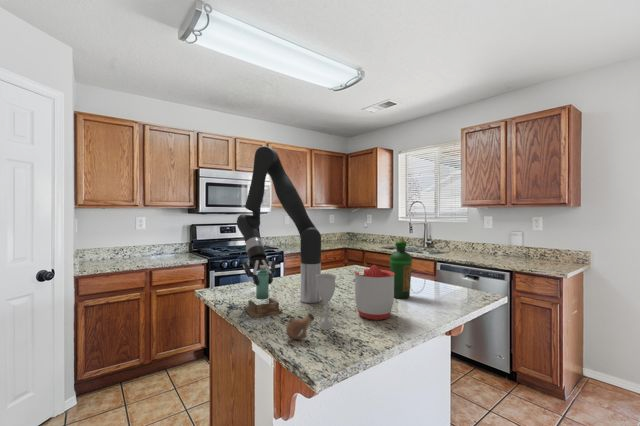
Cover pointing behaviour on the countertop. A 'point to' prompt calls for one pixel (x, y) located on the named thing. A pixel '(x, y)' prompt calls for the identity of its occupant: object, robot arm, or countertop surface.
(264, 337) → the countertop surface
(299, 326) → the brown animal figurine
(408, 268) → the bottle
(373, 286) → the citrus juicer
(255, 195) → the robot arm
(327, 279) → the chalice
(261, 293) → the bottle
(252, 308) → the u rest
